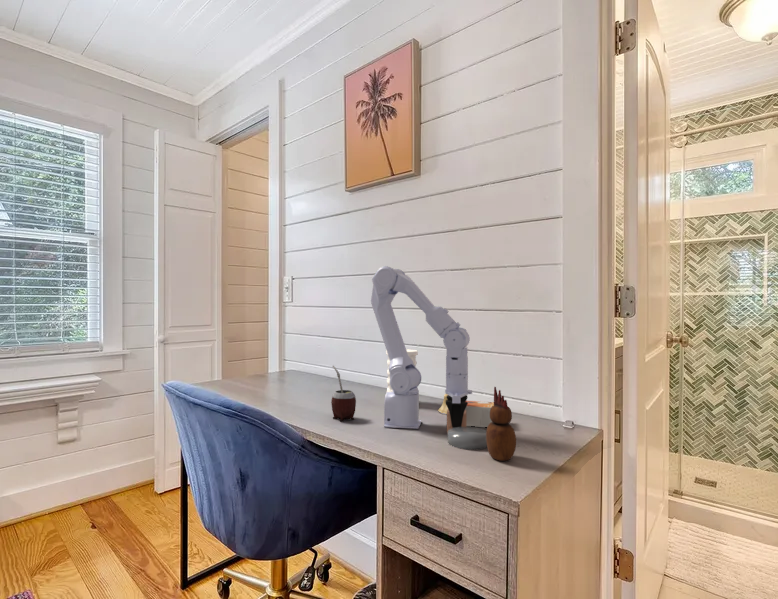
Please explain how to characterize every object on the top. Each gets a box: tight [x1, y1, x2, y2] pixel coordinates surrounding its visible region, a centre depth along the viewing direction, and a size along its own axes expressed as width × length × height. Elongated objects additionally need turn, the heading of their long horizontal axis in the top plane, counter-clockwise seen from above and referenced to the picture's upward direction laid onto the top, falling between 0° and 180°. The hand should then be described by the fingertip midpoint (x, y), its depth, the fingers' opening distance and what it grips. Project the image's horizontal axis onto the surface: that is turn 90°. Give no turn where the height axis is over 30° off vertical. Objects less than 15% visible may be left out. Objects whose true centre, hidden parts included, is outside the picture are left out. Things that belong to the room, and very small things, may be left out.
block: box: [446, 410, 467, 434], centre depth 113 cm, size 5×5×5 cm
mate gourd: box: [330, 365, 357, 423], centre depth 125 cm, size 8×8×15 cm
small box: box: [465, 400, 494, 428], centre depth 120 cm, size 8×6×10 cm
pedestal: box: [447, 426, 488, 450], centre depth 103 cm, size 10×10×2 cm
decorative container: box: [385, 348, 419, 393], centre depth 146 cm, size 12×12×18 cm
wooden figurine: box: [486, 386, 517, 462], centre depth 92 cm, size 7×6×15 cm
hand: (456, 425), depth 113 cm, fingers closed on block, 5 cm apart
